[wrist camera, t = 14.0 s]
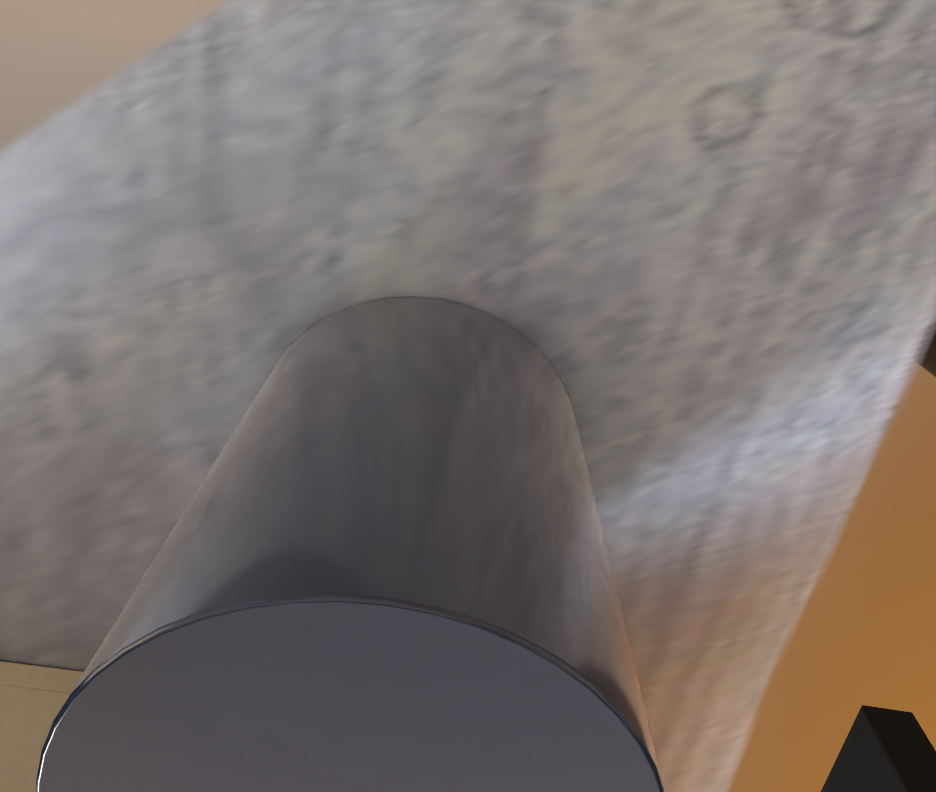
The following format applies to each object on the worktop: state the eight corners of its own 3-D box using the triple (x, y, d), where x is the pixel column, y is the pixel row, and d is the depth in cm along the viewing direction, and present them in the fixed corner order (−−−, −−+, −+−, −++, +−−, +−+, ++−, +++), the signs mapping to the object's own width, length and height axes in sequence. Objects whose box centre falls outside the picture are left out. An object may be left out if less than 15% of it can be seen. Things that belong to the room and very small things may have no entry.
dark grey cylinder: (610, 323, 17) (751, 649, 8) (544, 599, 20) (593, 1055, 11) (261, 271, 17) (4, 551, 8) (249, 559, 20) (55, 997, 11)
